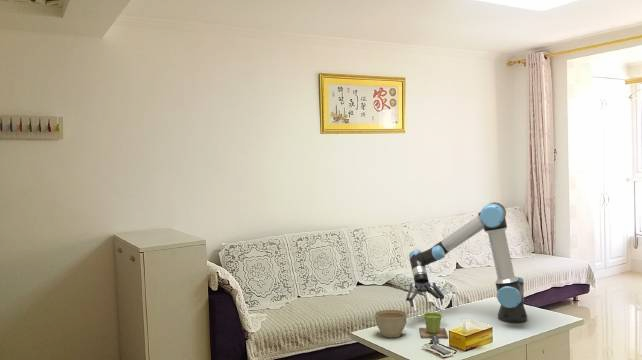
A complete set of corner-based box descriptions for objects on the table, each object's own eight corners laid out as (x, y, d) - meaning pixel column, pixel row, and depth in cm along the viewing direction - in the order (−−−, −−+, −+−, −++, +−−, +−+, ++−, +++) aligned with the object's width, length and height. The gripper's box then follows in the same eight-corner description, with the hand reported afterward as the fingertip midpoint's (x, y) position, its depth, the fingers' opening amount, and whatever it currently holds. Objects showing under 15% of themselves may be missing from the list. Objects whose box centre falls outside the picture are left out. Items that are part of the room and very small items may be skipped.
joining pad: (444, 330, 276) (444, 328, 276) (447, 338, 263) (447, 336, 263) (419, 330, 278) (419, 327, 278) (421, 338, 265) (421, 335, 265)
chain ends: (434, 327, 281) (434, 324, 281) (439, 344, 256) (439, 340, 256) (428, 327, 281) (428, 324, 281) (432, 344, 256) (432, 340, 256)
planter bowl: (409, 331, 277) (408, 310, 276) (405, 341, 261) (405, 319, 261) (378, 329, 281) (377, 308, 281) (372, 339, 265) (372, 317, 265)
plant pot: (421, 329, 275) (420, 312, 274) (439, 328, 276) (439, 311, 275) (426, 335, 265) (426, 317, 265) (445, 334, 266) (444, 316, 266)
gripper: (441, 279, 297) (450, 313, 282) (396, 281, 295) (403, 315, 281) (444, 271, 291) (453, 306, 277) (398, 273, 290) (405, 308, 275)
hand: (428, 311), depth 279 cm, fingers open, 13 cm apart
